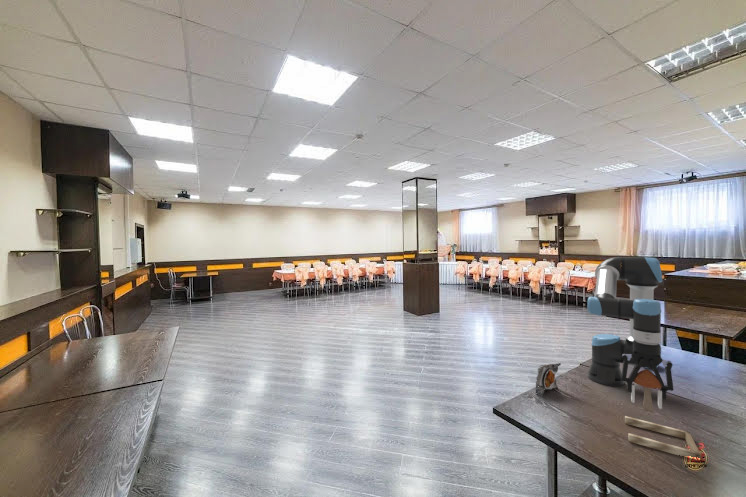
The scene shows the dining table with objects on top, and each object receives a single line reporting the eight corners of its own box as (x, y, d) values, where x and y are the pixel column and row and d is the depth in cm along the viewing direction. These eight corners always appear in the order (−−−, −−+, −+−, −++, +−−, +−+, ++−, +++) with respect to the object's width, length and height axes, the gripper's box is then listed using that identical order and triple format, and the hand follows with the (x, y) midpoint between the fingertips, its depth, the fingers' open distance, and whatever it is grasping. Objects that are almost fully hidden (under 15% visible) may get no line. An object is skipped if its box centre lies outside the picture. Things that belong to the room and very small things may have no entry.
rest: (628, 443, 109) (628, 434, 108) (624, 423, 120) (624, 415, 120) (700, 464, 98) (701, 454, 98) (689, 440, 110) (689, 432, 110)
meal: (544, 398, 140) (544, 370, 140) (535, 394, 144) (535, 367, 143) (561, 389, 148) (561, 363, 148) (552, 386, 152) (552, 360, 151)
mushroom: (631, 401, 116) (632, 363, 116) (660, 408, 111) (661, 368, 111) (632, 410, 110) (633, 369, 110) (662, 418, 105) (663, 376, 105)
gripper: (612, 339, 113) (612, 400, 113) (687, 350, 102) (686, 417, 102) (611, 334, 119) (611, 392, 120) (681, 344, 108) (681, 407, 108)
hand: (646, 403), depth 111 cm, fingers closed on mushroom, 7 cm apart
